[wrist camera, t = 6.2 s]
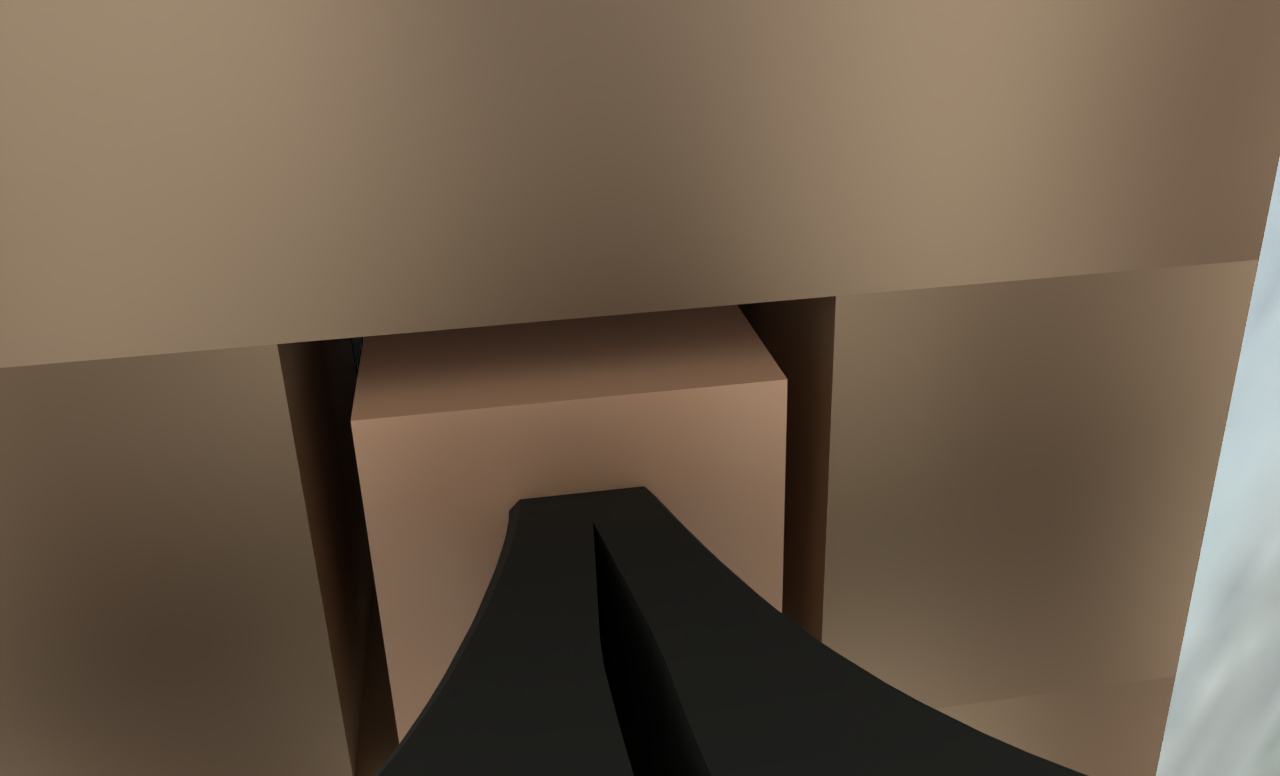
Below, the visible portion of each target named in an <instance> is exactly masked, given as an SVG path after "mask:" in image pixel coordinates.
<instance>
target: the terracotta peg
mask: <svg viewBox="0 0 1280 776" xmlns="http://www.w3.org/2000/svg"><path fill="white" fill-rule="evenodd" d="M787 380H788V379H787V378H786V376H785V375H784V373H783V372H782V371H781V369H780V368H779V366H778V365H777V363H776V362H775V360H774V359H773V357H772V356H771V354H770V353H769V351H768V350H767V348H766V347H765V345H764V344H763V342H762V341H761V339H760V338H759V336H758V335H757V333H756V332H755V331H754V329H753V328H752V326H751V325H750V323H749V322H748V320H747V319H746V317H745V316H744V314H743V313H742V311H741V310H740V308H739V307H738V305H726V306H715V307H703V308H691V309H680V310H668V311H656V312H645V313H633V314H622V315H610V316H598V317H587V318H575V319H563V320H552V321H540V322H529V323H517V324H505V325H494V326H482V327H470V328H459V329H447V330H436V331H424V332H412V333H401V334H389V335H378V336H366V337H364V339H363V345H362V352H361V358H360V364H359V371H358V377H357V383H356V389H355V396H354V402H353V408H352V415H351V428H352V434H353V441H354V447H355V454H356V461H357V467H358V474H359V480H360V487H361V494H362V500H363V507H364V514H365V520H366V527H367V533H368V540H369V547H370V553H371V560H372V567H373V573H374V580H375V586H376V593H377V600H378V606H379V613H380V620H381V626H382V633H383V639H384V646H385V653H386V659H387V666H388V673H389V679H390V686H391V692H392V699H393V706H394V712H395V719H396V725H397V732H398V739H399V744H400V742H401V741H402V739H403V738H404V736H405V735H406V734H407V732H408V731H409V729H410V728H411V726H412V725H413V724H414V722H415V721H416V719H417V718H418V716H419V715H420V713H421V712H422V710H423V709H424V707H425V706H426V704H427V703H428V701H429V699H430V698H431V696H432V694H433V693H434V691H435V690H436V688H437V686H438V685H439V683H440V681H441V680H442V678H443V676H444V675H445V673H446V671H447V669H448V667H449V665H450V663H451V662H452V660H453V658H454V656H455V654H456V652H457V650H458V649H459V647H460V645H461V643H462V641H463V639H464V637H465V636H466V634H467V632H468V630H469V628H470V626H471V624H472V622H473V620H474V618H475V616H476V613H477V611H478V609H479V606H480V604H481V602H482V599H483V597H484V595H485V592H486V590H487V588H488V585H489V583H490V581H491V578H492V576H493V573H494V571H495V568H496V565H497V562H498V559H499V556H500V553H501V550H502V547H503V544H504V540H505V536H506V532H507V527H508V521H509V510H510V509H511V508H512V507H513V506H514V505H515V504H516V503H517V502H518V501H519V500H520V499H528V498H537V497H547V496H556V495H566V494H575V493H585V492H594V491H603V490H613V489H622V488H632V487H641V486H645V487H646V488H647V489H648V490H649V491H650V492H652V493H653V494H654V495H655V496H656V497H657V498H658V499H659V500H660V501H661V502H662V503H663V504H664V505H665V506H666V507H667V508H668V510H669V511H670V512H671V513H672V514H673V515H674V516H675V517H676V518H677V519H678V520H679V521H680V522H681V523H682V524H683V525H684V526H685V527H686V528H687V529H688V530H689V531H690V532H691V533H692V534H693V535H694V536H695V537H696V538H697V539H698V540H699V541H700V542H701V543H702V544H703V545H704V546H705V547H706V548H707V549H708V550H709V551H711V552H712V553H713V554H714V555H715V556H716V557H717V558H718V559H719V560H720V561H721V562H722V563H723V564H725V565H726V566H727V567H728V568H729V569H730V570H731V571H732V572H734V573H735V574H736V575H737V576H738V577H739V578H740V579H742V580H743V581H744V582H745V583H746V584H747V585H748V586H749V587H751V588H752V589H753V590H754V591H755V592H756V593H757V594H759V595H760V596H761V597H762V598H763V599H765V600H766V601H767V602H768V603H770V604H771V605H772V606H773V607H774V608H776V609H777V610H778V611H780V612H781V613H782V592H783V549H784V507H785V465H786V423H787Z"/></svg>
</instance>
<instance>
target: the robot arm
mask: <svg viewBox="0 0 1280 776" xmlns="http://www.w3.org/2000/svg"><path fill="white" fill-rule="evenodd" d="M375 776H1088V775H1085V774H1082V773H1080V772H1077V771H1075V770H1072V769H1069V768H1067V767H1064V766H1062V765H1059V764H1057V763H1054V762H1051V761H1049V760H1046V759H1044V758H1041V757H1038V756H1036V755H1033V754H1031V753H1028V752H1026V751H1024V750H1021V749H1019V748H1017V747H1015V746H1012V745H1010V744H1008V743H1005V742H1003V741H1001V740H998V739H996V738H994V737H992V736H989V735H987V734H985V733H983V732H980V731H978V730H976V729H974V728H972V727H970V726H968V725H966V724H964V723H962V722H960V721H958V720H956V719H954V718H952V717H950V716H948V715H946V714H944V713H942V712H940V711H938V710H936V709H934V708H932V707H930V706H928V705H926V704H924V703H922V702H920V701H918V700H916V699H914V698H912V697H911V696H909V695H907V694H905V693H903V692H902V691H900V690H898V689H896V688H894V687H892V686H891V685H889V684H887V683H885V682H884V681H882V680H881V679H879V678H877V677H876V676H874V675H872V674H871V673H869V672H868V671H866V670H864V669H863V668H861V667H859V666H858V665H856V664H855V663H853V662H851V661H850V660H848V659H846V658H845V657H843V656H842V655H840V654H838V653H837V652H835V651H834V650H832V649H831V648H829V647H828V646H826V645H825V644H823V643H822V642H820V641H819V640H817V639H816V638H814V637H813V636H812V635H810V634H809V633H807V632H806V631H805V630H803V629H802V628H801V627H799V626H798V625H797V624H795V623H794V622H793V621H791V620H790V619H789V618H787V617H786V616H785V615H784V614H782V613H781V612H780V611H778V610H777V609H776V608H774V607H773V606H772V605H771V604H770V603H768V602H767V601H766V600H765V599H763V598H762V597H761V596H760V595H759V594H757V593H756V592H755V591H754V590H753V589H752V588H751V587H749V586H748V585H747V584H746V583H745V582H744V581H743V580H742V579H740V578H739V577H738V576H737V575H736V574H735V573H734V572H732V571H731V570H730V569H729V568H728V567H727V566H726V565H725V564H723V563H722V562H721V561H720V560H719V559H718V558H717V557H716V556H715V555H714V554H713V553H712V552H711V551H709V550H708V549H707V548H706V547H705V546H704V545H703V544H702V543H701V542H700V541H699V540H698V539H697V538H696V537H695V536H694V535H693V534H692V533H691V532H690V531H689V530H688V529H687V528H686V527H685V526H684V525H683V524H682V523H681V522H680V521H679V520H678V519H677V518H676V517H675V516H674V515H673V514H672V513H671V512H670V511H669V510H668V508H667V507H666V506H665V505H664V504H663V503H662V502H661V501H660V500H659V499H658V498H657V497H656V496H655V495H654V494H653V493H652V492H650V491H649V490H648V489H647V488H646V487H645V486H641V487H632V488H622V489H613V490H603V491H594V492H585V493H575V494H566V495H556V496H547V497H537V498H528V499H520V500H519V501H518V502H517V503H516V504H515V505H514V506H513V507H512V508H511V509H510V510H509V521H508V527H507V532H506V536H505V540H504V544H503V547H502V550H501V553H500V556H499V559H498V562H497V565H496V568H495V571H494V573H493V576H492V578H491V581H490V583H489V585H488V588H487V590H486V592H485V595H484V597H483V599H482V602H481V604H480V606H479V609H478V611H477V613H476V616H475V618H474V620H473V622H472V624H471V626H470V628H469V630H468V632H467V634H466V636H465V637H464V639H463V641H462V643H461V645H460V647H459V649H458V650H457V652H456V654H455V656H454V658H453V660H452V662H451V663H450V665H449V667H448V669H447V671H446V673H445V675H444V676H443V678H442V680H441V681H440V683H439V685H438V686H437V688H436V690H435V691H434V693H433V694H432V696H431V698H430V699H429V701H428V703H427V704H426V706H425V707H424V709H423V710H422V712H421V713H420V715H419V716H418V718H417V719H416V721H415V722H414V724H413V725H412V726H411V728H410V729H409V731H408V732H407V734H406V735H405V736H404V738H403V739H402V741H401V742H400V744H399V745H398V746H397V748H396V749H395V750H394V752H393V753H392V754H391V756H390V757H389V758H388V759H387V761H386V762H385V763H384V764H383V766H382V767H381V768H380V769H379V771H378V772H377V773H376V775H375Z"/></svg>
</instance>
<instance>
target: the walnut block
mask: <svg viewBox="0 0 1280 776" xmlns="http://www.w3.org/2000/svg"><path fill="white" fill-rule="evenodd" d="M1279 156H1280V0H0V776H375V775H376V773H377V772H378V771H379V769H380V768H381V767H382V766H383V764H384V763H385V762H386V761H387V759H388V758H389V757H390V756H391V754H392V753H393V752H394V750H395V749H396V748H397V746H398V745H399V739H398V732H397V725H396V719H395V712H394V706H393V699H392V692H391V686H390V679H389V673H388V666H387V659H386V653H385V646H384V639H383V633H382V626H381V620H380V613H379V606H378V600H377V593H376V586H375V580H374V573H373V567H372V560H371V553H370V547H369V540H368V533H367V527H366V520H365V514H364V507H363V500H362V494H361V487H360V480H359V474H358V467H357V461H356V454H355V447H354V441H353V434H352V428H351V415H352V408H353V402H354V396H355V389H356V383H357V376H356V369H355V363H354V356H353V349H352V342H351V338H354V337H366V336H378V335H389V334H401V333H412V332H424V331H436V330H447V329H459V328H470V327H482V326H494V325H505V324H517V323H529V322H540V321H552V320H563V319H575V318H587V317H598V316H610V315H622V314H633V313H645V312H656V311H668V310H680V309H691V308H703V307H715V306H726V305H738V307H739V308H740V310H741V311H742V313H743V314H744V316H745V317H746V319H747V320H748V322H749V323H750V325H751V326H752V328H753V329H754V331H755V332H756V333H757V335H758V336H759V338H760V339H761V341H762V342H763V344H764V345H765V347H766V348H767V350H768V351H769V353H770V354H771V356H772V357H773V359H774V360H775V362H776V363H777V365H778V366H779V368H780V369H781V371H782V372H783V373H784V375H785V376H786V378H787V379H788V380H787V423H786V465H785V507H784V549H783V592H782V614H784V615H785V616H786V617H787V618H789V619H790V620H791V621H793V622H794V623H795V624H797V625H798V626H799V627H801V628H802V629H803V630H805V631H806V632H807V633H809V634H810V635H812V636H813V637H814V638H816V639H817V640H819V641H820V642H822V643H823V644H825V645H826V646H828V647H829V648H831V649H832V650H834V651H835V652H837V653H838V654H840V655H842V656H843V657H845V658H846V659H848V660H850V661H851V662H853V663H855V664H856V665H858V666H859V667H861V668H863V669H864V670H866V671H868V672H869V673H871V674H872V675H874V676H876V677H877V678H879V679H881V680H882V681H884V682H885V683H887V684H889V685H891V686H892V687H894V688H896V689H898V690H900V691H902V692H903V693H905V694H907V695H909V696H911V697H912V698H914V699H916V700H918V701H920V702H922V703H924V704H926V705H928V706H930V707H932V708H934V709H936V710H938V711H940V712H942V713H944V714H946V715H948V716H950V717H952V718H954V719H956V720H958V721H960V722H962V723H964V724H966V725H968V726H970V727H972V728H974V729H976V730H978V731H980V732H983V733H985V734H987V735H989V736H992V737H994V738H996V739H998V740H1001V741H1003V742H1005V743H1008V744H1010V745H1012V746H1015V747H1017V748H1019V749H1021V750H1024V751H1026V752H1028V753H1031V754H1033V755H1036V756H1038V757H1041V758H1044V759H1046V760H1049V761H1051V762H1054V763H1057V764H1059V765H1062V766H1064V767H1067V768H1069V769H1072V770H1075V771H1077V772H1080V773H1082V774H1085V775H1088V776H1156V771H1157V766H1158V761H1159V756H1160V751H1161V746H1162V741H1163V736H1164V731H1165V726H1166V721H1167V716H1168V711H1169V706H1170V701H1171V696H1172V691H1173V686H1174V681H1175V676H1176V671H1177V666H1178V661H1179V656H1180V651H1181V646H1182V641H1183V636H1184V631H1185V626H1186V621H1187V616H1188V611H1189V606H1190V601H1191V596H1192V591H1193V586H1194V581H1195V576H1196V571H1197V566H1198V561H1199V556H1200V551H1201V546H1202V541H1203V536H1204V531H1205V526H1206V521H1207V516H1208V511H1209V506H1210V501H1211V496H1212V491H1213V486H1214V481H1215V476H1216V471H1217V466H1218V461H1219V456H1220V451H1221V446H1222V441H1223V436H1224V431H1225V426H1226V421H1227V416H1228V411H1229V406H1230V401H1231V396H1232V391H1233V386H1234V381H1235V376H1236V371H1237V366H1238V361H1239V356H1240V351H1241V346H1242V341H1243V336H1244V331H1245V326H1246V321H1247V316H1248V311H1249V306H1250V301H1251V296H1252V291H1253V286H1254V281H1255V276H1256V271H1257V266H1258V261H1259V256H1260V251H1261V246H1262V241H1263V236H1264V231H1265V226H1266V221H1267V216H1268V211H1269V206H1270V201H1271V196H1272V191H1273V186H1274V181H1275V176H1276V171H1277V166H1278V161H1279Z"/></svg>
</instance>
